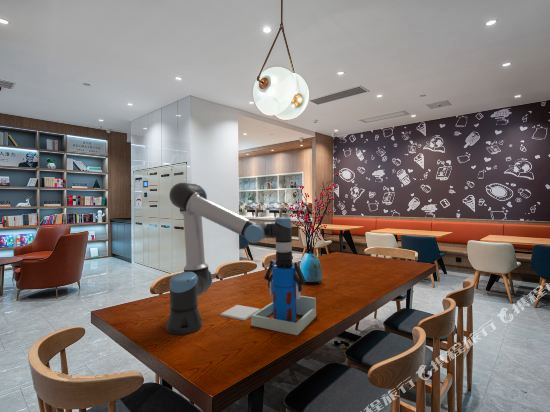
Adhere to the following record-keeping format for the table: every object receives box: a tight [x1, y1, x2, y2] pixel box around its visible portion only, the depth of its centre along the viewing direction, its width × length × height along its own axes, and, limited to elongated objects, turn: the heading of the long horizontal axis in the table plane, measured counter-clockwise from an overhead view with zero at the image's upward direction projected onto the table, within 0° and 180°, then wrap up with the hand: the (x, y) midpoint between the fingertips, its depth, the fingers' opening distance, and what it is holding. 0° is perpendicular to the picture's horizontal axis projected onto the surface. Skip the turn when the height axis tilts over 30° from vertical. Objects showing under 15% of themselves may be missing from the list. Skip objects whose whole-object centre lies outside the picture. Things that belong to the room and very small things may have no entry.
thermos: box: [271, 265, 297, 323], centre depth 138 cm, size 11×11×25 cm
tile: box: [220, 304, 261, 321], centre depth 148 cm, size 14×14×1 cm
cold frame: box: [250, 295, 317, 336], centre depth 138 cm, size 22×22×9 cm
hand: (284, 296), depth 138 cm, fingers open, 13 cm apart
